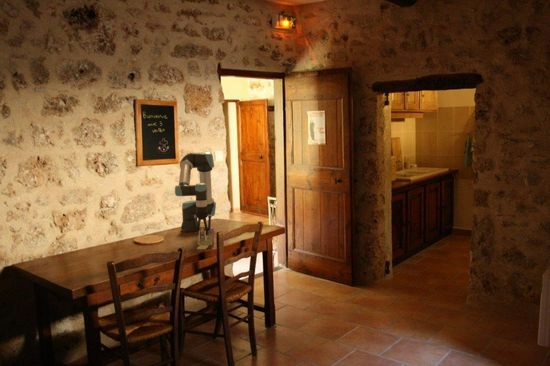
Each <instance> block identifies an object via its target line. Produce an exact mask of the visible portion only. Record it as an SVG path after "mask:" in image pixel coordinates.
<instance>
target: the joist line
mask: <svg viewBox="0 0 550 366" xmlns="http://www.w3.org/2000/svg"><path fill="white" fill-rule="evenodd" d="M209 246H210V245H198V246H197V248H196V250H207V249H208V247H209ZM206 248H207V249H206Z"/></svg>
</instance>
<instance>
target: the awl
mask: <svg viewBox="0 0 550 366" xmlns="http://www.w3.org/2000/svg"><path fill="white" fill-rule="evenodd" d="M204 231H205V226H200V235H201V241H205V232H204Z"/></svg>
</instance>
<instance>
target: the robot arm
mask: <svg viewBox="0 0 550 366" xmlns="http://www.w3.org/2000/svg"><path fill="white" fill-rule="evenodd" d="M214 161H215V160H214V155H213V154H212V153H211V152H207V151H205V152H190V153H187V154H186V155H184V156H183V157H182V158H181V160H180V162H179V169H180V171H179V180H178V185H175V186H174V195H175V197H195V199H193V200H187V201H184V202H182V205H181V209H182V210H181V212H182V214H181V215H182V222H181V225H180V232H184V233H192V232H193V233H194V232H197V233H196V234H197V236H198V235H199V240H201V235H200V227H201V224H202V222H201V221H203V225H204V227H205V231H204V232H205V240H207V235H208V230H210V229H211V227H212V223H211V221H212V218H213V217H215V215H216V206H217V201H215V200H214V198H213V194H212V193H213V191H212V175H211V172H212V170H213V168H214V167H215V162H214ZM192 169H197V170H196V171H198V175H199V182H198V183H196V184H191V174H192V173H191V172H192ZM207 219H208V220H207Z"/></svg>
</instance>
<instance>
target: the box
mask: <svg viewBox="0 0 550 366" xmlns="http://www.w3.org/2000/svg"><path fill="white" fill-rule="evenodd" d="M214 235H215V230H214V227H212V226H211V229H210V230H208V235H207V240H205V241H201V240H199V235H197V245H198V246H200V245H209V246H213V245H215V236H214Z"/></svg>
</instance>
